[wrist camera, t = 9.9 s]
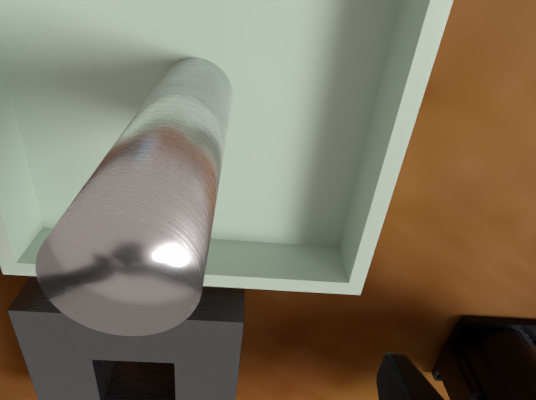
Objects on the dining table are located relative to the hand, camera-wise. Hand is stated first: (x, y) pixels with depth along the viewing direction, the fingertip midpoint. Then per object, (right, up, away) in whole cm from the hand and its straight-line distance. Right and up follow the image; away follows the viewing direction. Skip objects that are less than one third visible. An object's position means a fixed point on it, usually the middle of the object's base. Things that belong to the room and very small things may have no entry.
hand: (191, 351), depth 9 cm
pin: (-1, +8, +9) cm, 12 cm away
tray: (-1, +9, +9) cm, 13 cm away
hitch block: (-6, -6, +18) cm, 20 cm away
